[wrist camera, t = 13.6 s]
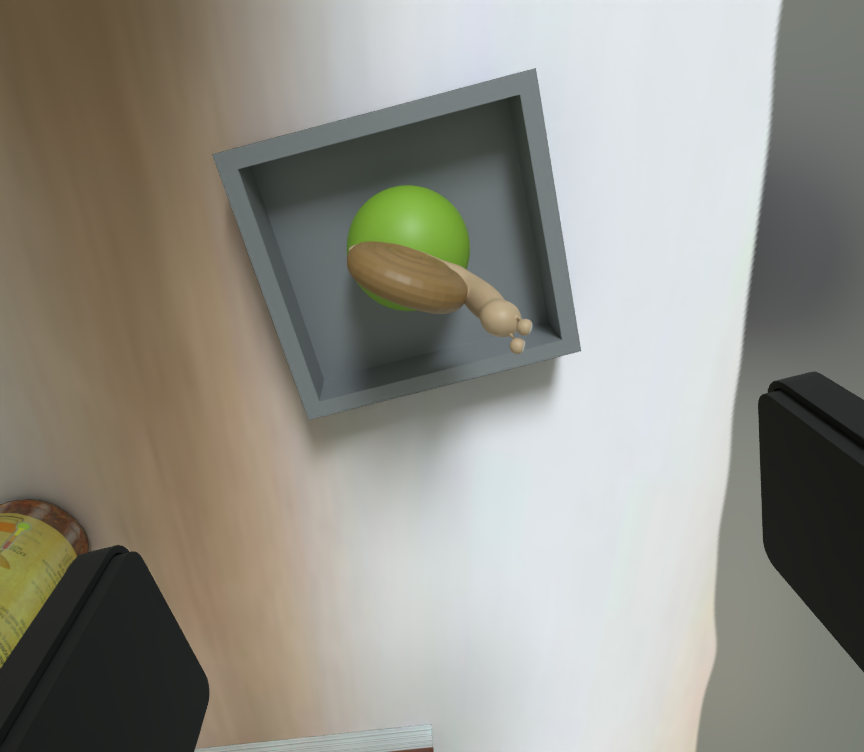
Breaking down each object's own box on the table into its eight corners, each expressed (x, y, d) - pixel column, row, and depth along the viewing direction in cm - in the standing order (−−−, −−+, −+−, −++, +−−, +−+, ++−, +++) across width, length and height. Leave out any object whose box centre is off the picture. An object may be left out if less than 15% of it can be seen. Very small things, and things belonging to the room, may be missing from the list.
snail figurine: (461, 311, 32) (502, 416, 21) (337, 275, 31) (311, 366, 20) (497, 206, 30) (563, 260, 19) (366, 163, 29) (356, 195, 18)
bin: (231, 149, 29) (212, 154, 26) (518, 73, 29) (535, 68, 26) (315, 390, 34) (308, 419, 31) (562, 328, 34) (581, 351, 30)
